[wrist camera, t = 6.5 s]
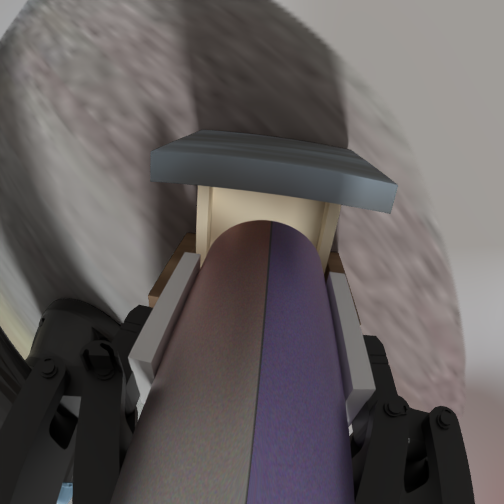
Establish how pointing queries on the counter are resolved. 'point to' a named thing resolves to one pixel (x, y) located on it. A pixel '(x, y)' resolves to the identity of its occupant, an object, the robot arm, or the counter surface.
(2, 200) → the counter surface
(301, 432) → the beverage can
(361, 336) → the robot arm
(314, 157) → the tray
